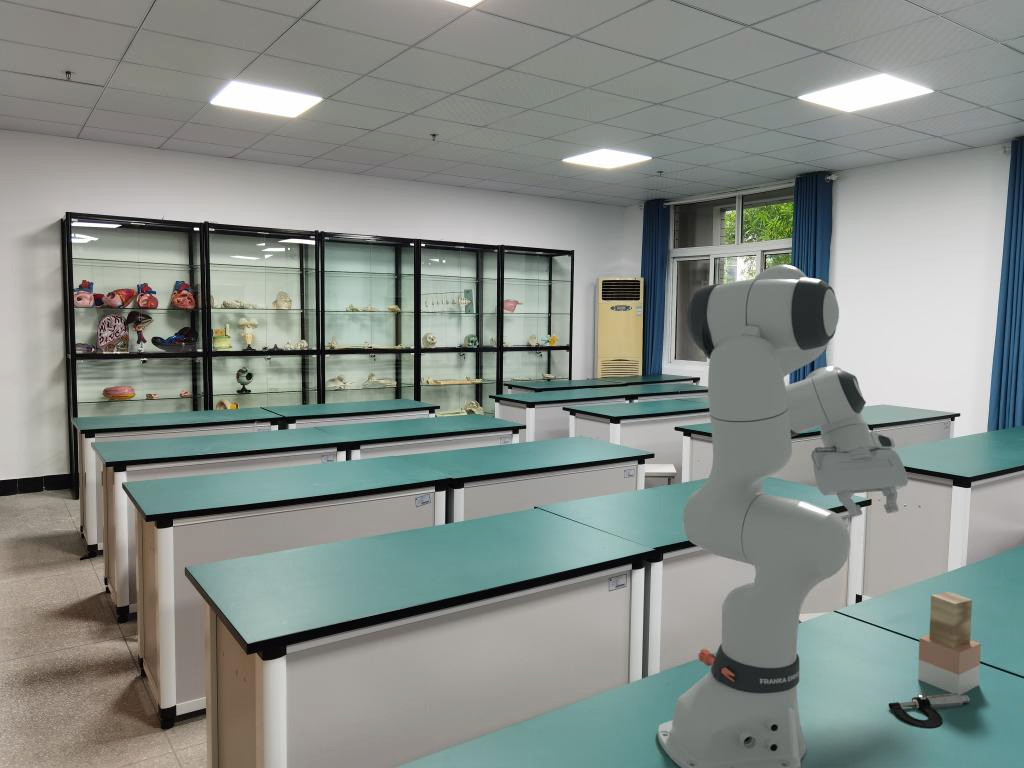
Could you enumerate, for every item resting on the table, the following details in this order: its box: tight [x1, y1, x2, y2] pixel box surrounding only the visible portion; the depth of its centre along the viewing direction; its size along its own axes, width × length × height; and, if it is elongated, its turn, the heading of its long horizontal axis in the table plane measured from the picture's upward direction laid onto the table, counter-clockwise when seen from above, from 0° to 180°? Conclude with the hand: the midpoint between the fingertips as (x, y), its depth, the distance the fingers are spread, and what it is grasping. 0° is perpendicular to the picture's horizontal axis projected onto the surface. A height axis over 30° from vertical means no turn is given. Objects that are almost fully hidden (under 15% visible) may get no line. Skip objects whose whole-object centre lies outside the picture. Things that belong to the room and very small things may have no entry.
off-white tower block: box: [917, 659, 981, 696], centre depth 130 cm, size 7×7×4 cm
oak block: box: [929, 591, 973, 648], centre depth 129 cm, size 4×4×8 cm
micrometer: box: [888, 693, 971, 729], centre depth 119 cm, size 15×7×2 cm, turn 99°
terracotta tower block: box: [918, 633, 982, 675], centre depth 129 cm, size 7×7×4 cm
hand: (875, 514), depth 136 cm, fingers open, 8 cm apart
